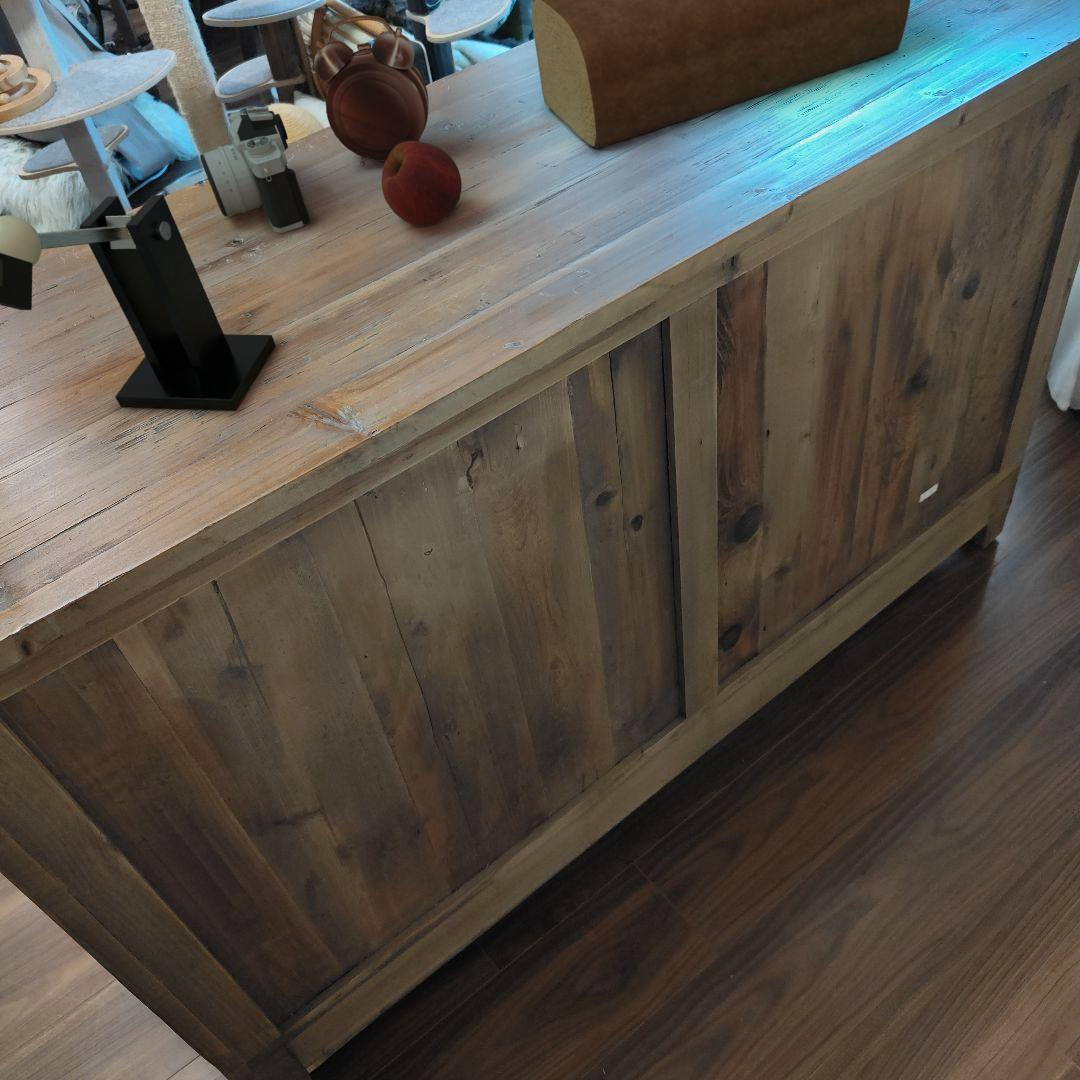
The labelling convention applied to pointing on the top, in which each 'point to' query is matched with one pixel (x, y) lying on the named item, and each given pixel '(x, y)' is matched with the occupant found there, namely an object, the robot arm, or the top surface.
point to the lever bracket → (173, 318)
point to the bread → (693, 55)
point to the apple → (421, 183)
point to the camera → (256, 170)
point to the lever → (59, 237)
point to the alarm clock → (373, 91)
